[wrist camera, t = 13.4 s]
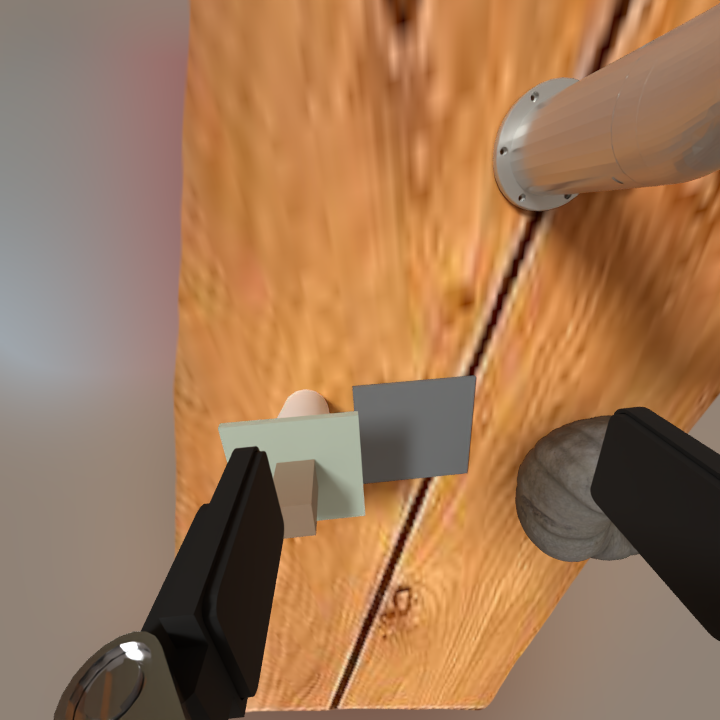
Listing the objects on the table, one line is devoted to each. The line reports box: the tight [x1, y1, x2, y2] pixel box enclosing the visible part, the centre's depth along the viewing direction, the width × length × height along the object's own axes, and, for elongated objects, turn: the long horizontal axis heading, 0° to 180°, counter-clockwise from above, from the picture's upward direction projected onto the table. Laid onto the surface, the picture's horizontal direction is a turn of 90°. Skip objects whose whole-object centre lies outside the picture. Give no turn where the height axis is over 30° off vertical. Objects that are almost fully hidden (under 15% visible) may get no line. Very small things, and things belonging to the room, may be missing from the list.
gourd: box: [515, 415, 639, 562], centre depth 49 cm, size 25×25×17 cm
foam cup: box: [277, 389, 330, 418], centre depth 43 cm, size 10×9×13 cm
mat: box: [352, 375, 476, 484], centre depth 52 cm, size 18×18×1 cm
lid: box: [218, 411, 365, 539], centre depth 34 cm, size 14×14×7 cm
